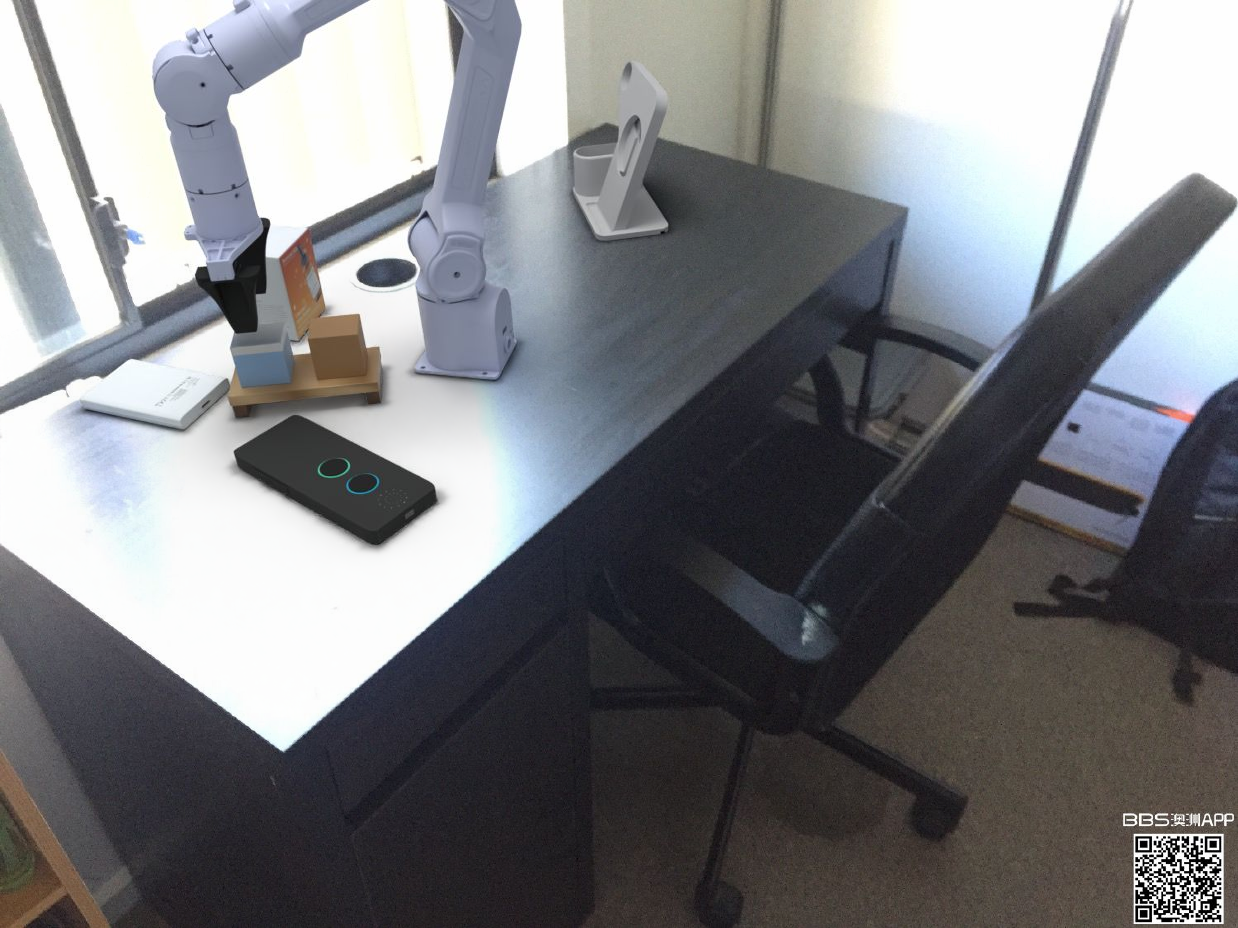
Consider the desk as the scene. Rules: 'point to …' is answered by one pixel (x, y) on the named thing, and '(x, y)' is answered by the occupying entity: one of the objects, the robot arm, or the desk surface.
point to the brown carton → (337, 346)
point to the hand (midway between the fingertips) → (251, 311)
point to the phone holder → (624, 163)
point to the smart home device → (336, 478)
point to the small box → (290, 281)
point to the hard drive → (155, 393)
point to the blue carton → (263, 356)
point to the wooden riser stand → (309, 385)
